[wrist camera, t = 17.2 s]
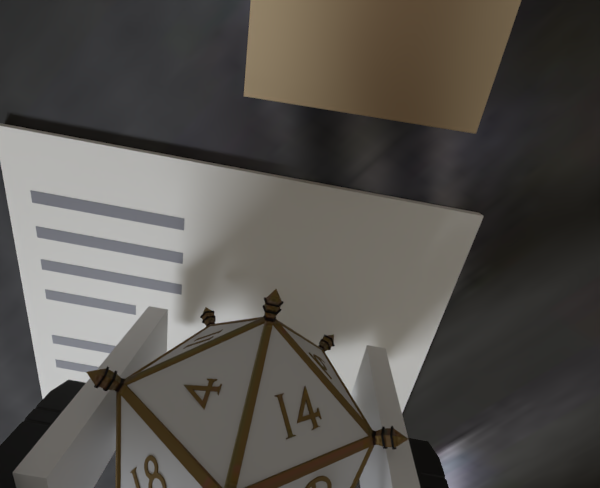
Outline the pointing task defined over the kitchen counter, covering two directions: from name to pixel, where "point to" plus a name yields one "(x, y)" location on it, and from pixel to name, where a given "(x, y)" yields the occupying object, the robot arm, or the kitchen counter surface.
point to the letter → (219, 254)
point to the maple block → (380, 56)
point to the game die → (240, 412)
